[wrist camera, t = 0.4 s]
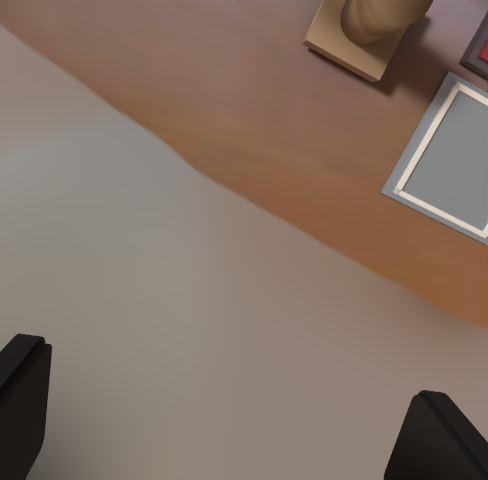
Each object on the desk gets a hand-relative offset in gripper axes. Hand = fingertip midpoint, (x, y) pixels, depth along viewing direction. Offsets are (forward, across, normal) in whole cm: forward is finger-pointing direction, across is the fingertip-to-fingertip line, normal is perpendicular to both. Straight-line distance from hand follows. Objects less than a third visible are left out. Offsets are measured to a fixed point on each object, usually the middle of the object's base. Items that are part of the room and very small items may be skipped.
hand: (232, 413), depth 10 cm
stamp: (+29, -8, -17) cm, 35 cm away
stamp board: (+29, -23, -8) cm, 38 cm away
